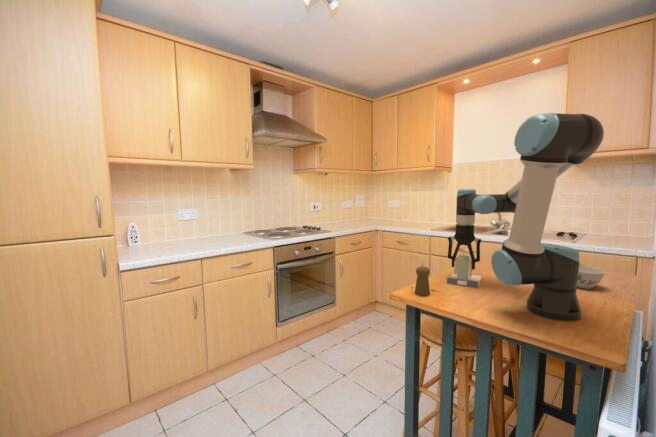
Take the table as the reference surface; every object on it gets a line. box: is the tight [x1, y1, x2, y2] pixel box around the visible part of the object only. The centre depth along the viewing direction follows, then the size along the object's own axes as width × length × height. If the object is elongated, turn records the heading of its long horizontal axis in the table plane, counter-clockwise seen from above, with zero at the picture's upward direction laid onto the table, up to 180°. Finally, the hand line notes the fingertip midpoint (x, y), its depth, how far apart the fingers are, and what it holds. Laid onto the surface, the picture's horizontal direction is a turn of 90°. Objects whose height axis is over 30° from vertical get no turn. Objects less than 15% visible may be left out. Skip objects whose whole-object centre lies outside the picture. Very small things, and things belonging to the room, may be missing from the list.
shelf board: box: [446, 272, 482, 289], centre depth 135 cm, size 18×12×4 cm, turn 149°
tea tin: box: [456, 254, 471, 280], centre depth 136 cm, size 8×4×10 cm, turn 149°
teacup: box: [577, 264, 605, 290], centre depth 128 cm, size 15×12×8 cm
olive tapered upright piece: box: [414, 266, 431, 297], centre depth 122 cm, size 6×6×11 cm
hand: (462, 275), depth 136 cm, fingers open, 6 cm apart
